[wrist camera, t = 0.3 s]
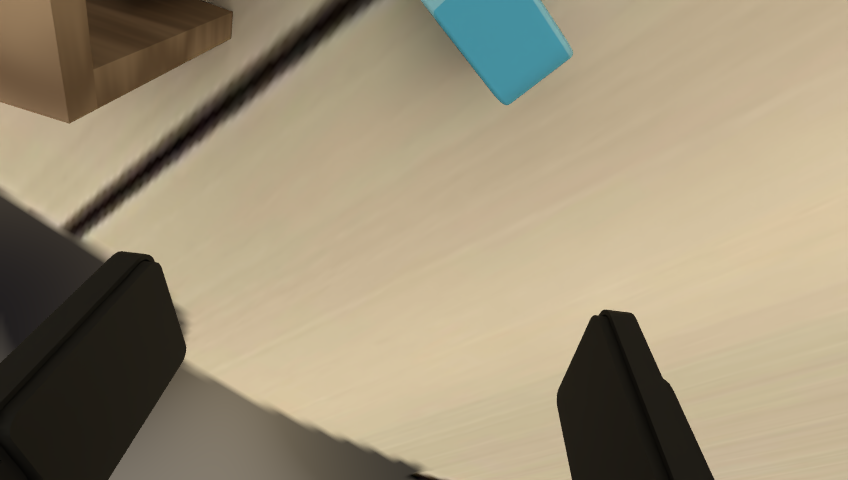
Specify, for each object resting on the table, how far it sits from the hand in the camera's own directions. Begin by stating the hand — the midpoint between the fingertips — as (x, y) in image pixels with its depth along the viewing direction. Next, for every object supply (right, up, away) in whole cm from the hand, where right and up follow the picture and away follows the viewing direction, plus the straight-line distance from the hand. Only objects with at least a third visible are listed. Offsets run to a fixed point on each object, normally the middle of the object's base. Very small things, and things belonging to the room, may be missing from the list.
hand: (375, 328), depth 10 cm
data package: (+4, +21, +22) cm, 31 cm away
